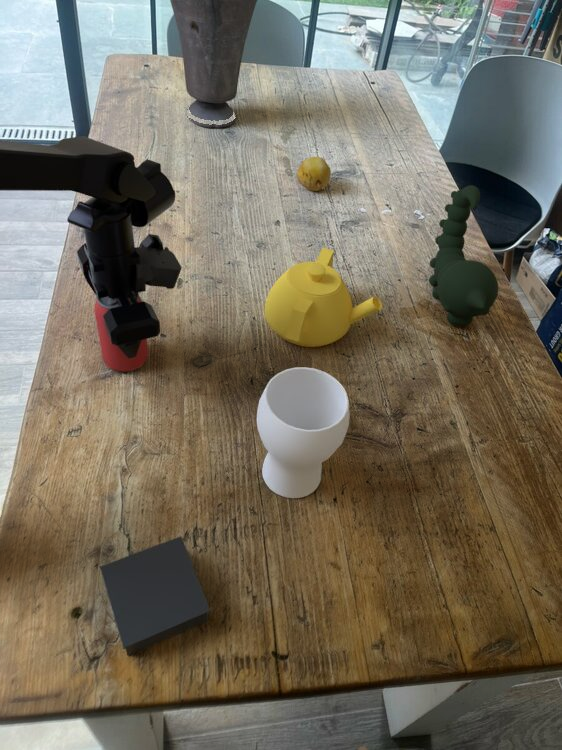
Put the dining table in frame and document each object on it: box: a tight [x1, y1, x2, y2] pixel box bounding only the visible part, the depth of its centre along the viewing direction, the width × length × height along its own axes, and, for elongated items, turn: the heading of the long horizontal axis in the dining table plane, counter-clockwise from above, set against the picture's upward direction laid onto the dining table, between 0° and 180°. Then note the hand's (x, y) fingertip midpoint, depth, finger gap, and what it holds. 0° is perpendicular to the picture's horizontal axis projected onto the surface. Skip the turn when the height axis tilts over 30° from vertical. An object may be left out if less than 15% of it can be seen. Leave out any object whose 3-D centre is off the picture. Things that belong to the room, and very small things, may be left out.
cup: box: [256, 366, 351, 499], centre depth 70 cm, size 11×11×15 cm
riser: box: [99, 535, 211, 657], centre depth 62 cm, size 9×9×3 cm
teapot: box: [264, 247, 383, 348], centre depth 92 cm, size 20×18×11 cm
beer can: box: [93, 291, 149, 372], centre depth 82 cm, size 7×7×12 cm
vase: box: [169, 0, 258, 129], centre depth 134 cm, size 22×22×30 cm
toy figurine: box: [428, 185, 499, 328], centre depth 97 cm, size 9×19×25 cm
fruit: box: [296, 156, 332, 192], centre depth 124 cm, size 7×7×10 cm
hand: (122, 335), depth 83 cm, fingers open, 9 cm apart
